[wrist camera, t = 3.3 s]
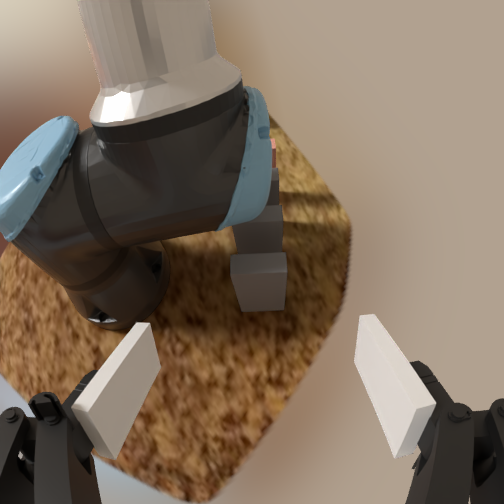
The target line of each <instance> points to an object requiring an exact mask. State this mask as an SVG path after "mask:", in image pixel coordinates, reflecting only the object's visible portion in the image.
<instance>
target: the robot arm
mask: <svg viewBox="0 0 504 504" xmlns="http://www.w3.org/2000/svg"><path fill="white" fill-rule="evenodd" d="M77 2H78V6H79V10H80V14H81V18H82V23H83V26H84V30H85V34H86V38H87V41H88V45H89V49H90V52H91V56H92V59H93V62H94V65H95V69H96V72H97V75H98V78H99V81H100V85H101V90H100V93H99V95H98V97H97V99H96V101H95V103H94V105H93V107H92V110H91V112H90V120H91V123H92V125H93V127H91V128H88V129H85V130H82V131H81V130H79V125H78V123H77V122H76V121H74V120H73V119H72V118H71V117H70V116H59V117H56V118H54V119H52V120H50V121H48V122H46V123H45V124H43V125H42V126H40V127H39V128H38V129H37V130H35V131H34V132H33V133H31V134H30V135H29V136H28V137H27V138H26V139H25V140H24V141H23V142H22V143H21V144H20V145H19V146H18V147H17V148H16V149H15V151H14V152H13V153H12V155H11V156H10V157H9V158H8V159H7V161H6V162H5V164H4V165H3V167H2V168H1V170H0V232H1V233H2V234H3V235H4V237H5V239H6V240H7V241H8V242H11V243H12V244H13V245H15V246H16V247H17V248H18V249H19V250H20V251H21V252H22V253H24V254H25V255H26V256H27V257H28V258H29V259H31V260H32V261H33V262H34V263H35V264H36V265H38V266H39V267H40V268H41V269H42V270H44V271H45V272H46V273H47V274H48V275H50V276H51V277H52V278H53V279H55V280H56V281H57V282H59V283H60V284H61V285H62V286H63V287H64V289H65V290H66V292H67V294H68V296H69V297H70V299H71V301H72V303H73V304H74V306H75V308H76V309H77V311H78V312H79V313H80V314H81V315H82V316H83V317H84V318H85V319H87V320H88V321H90V322H91V323H93V324H95V325H96V326H98V327H101V328H104V329H108V330H120V329H125V328H129V327H131V326H133V328H132V329H131V330H130V331H129V333H128V334H127V335H126V336H125V338H124V339H123V340H122V341H121V343H120V344H119V345H118V346H117V348H116V349H115V350H114V351H113V353H112V354H111V355H110V357H109V358H108V359H107V360H106V362H105V363H104V364H103V366H102V367H101V368H100V369H99V370H93V371H91V372H90V373H88V374H87V375H85V376H84V378H83V379H82V380H81V381H80V384H78V385H77V386H76V388H75V390H73V391H72V393H71V394H70V395H69V397H68V398H67V399H66V400H65V402H64V403H63V404H62V405H61V403H60V401H59V399H58V397H57V396H56V395H55V394H54V393H51V392H42V393H39V394H37V395H35V396H33V397H32V399H31V400H30V401H29V403H28V405H29V407H30V409H31V410H32V412H33V414H34V415H35V417H36V418H34V417H27V416H26V415H25V413H24V412H23V410H22V409H21V408H18V407H11V408H8V409H6V410H5V411H4V412H3V413H2V414H1V415H0V504H102V503H101V498H100V493H99V488H98V483H97V477H96V471H95V465H94V459H93V456H92V455H91V451H92V449H93V447H94V448H95V450H96V451H97V453H98V454H99V456H103V457H107V458H110V459H114V460H116V458H117V456H118V454H119V452H120V450H121V447H122V445H123V443H124V441H125V439H126V437H127V435H128V433H129V431H130V429H131V427H132V424H133V422H134V420H135V418H136V416H137V414H138V412H139V410H140V408H141V406H142V404H143V402H144V400H145V398H146V396H147V394H148V392H149V390H150V388H151V386H152V384H153V382H154V380H155V378H156V376H157V374H158V372H159V370H160V368H161V366H160V362H159V358H158V354H157V350H156V346H155V342H154V338H153V334H152V329H151V325H150V323H139V322H141V321H142V320H144V319H145V318H146V317H148V316H149V315H150V314H151V313H152V312H153V311H154V310H155V308H156V307H157V306H158V304H159V303H160V301H161V300H162V298H163V296H164V294H165V292H166V289H167V286H168V283H169V277H170V263H169V259H168V255H167V253H166V251H165V249H164V247H163V246H162V244H161V242H160V241H161V240H166V239H171V238H176V237H182V236H187V235H192V234H198V233H203V232H209V231H218V230H222V229H224V228H225V227H228V226H232V225H236V224H240V223H244V222H248V221H251V220H253V219H255V218H256V217H257V216H259V215H260V214H261V212H262V211H263V209H264V208H265V206H266V203H267V200H268V197H269V192H270V186H271V177H272V142H271V140H270V137H269V133H270V122H269V115H268V110H267V106H266V103H265V100H264V97H263V95H262V94H261V92H260V91H259V90H258V89H256V88H251V87H249V86H243V83H242V75H241V70H240V69H239V68H237V67H236V66H234V65H233V64H231V63H230V62H228V61H227V60H225V59H224V58H222V57H221V56H220V55H219V54H218V53H217V51H216V44H215V38H214V32H213V25H212V19H211V12H210V6H209V0H77ZM354 362H355V365H356V367H357V369H358V371H359V374H360V376H361V378H362V380H363V383H364V385H365V388H366V390H367V392H368V395H369V397H370V399H371V401H372V404H373V406H374V409H375V411H376V414H377V416H378V419H379V421H380V423H381V426H382V428H383V431H384V433H385V435H386V438H387V441H388V443H389V446H390V448H391V451H392V454H393V456H394V458H399V457H403V456H406V455H410V454H413V452H414V450H415V448H416V446H417V444H418V446H419V448H420V450H421V453H420V455H419V457H418V458H417V460H416V462H415V463H414V465H413V467H412V469H415V472H414V476H413V480H412V484H411V487H410V491H409V494H408V497H407V500H406V503H405V504H468V501H469V495H470V502H471V504H504V399H498V400H496V401H494V402H493V403H492V405H491V407H490V409H489V410H484V411H472V410H471V409H470V408H469V407H468V406H466V405H465V404H461V403H454V402H453V400H452V399H451V398H450V396H449V395H448V393H447V392H446V391H445V389H444V388H443V386H442V385H441V384H440V382H438V380H437V378H436V377H435V376H434V375H433V373H432V371H431V370H430V369H429V367H428V366H426V365H425V364H423V363H421V362H420V361H415V362H408V360H407V359H406V357H405V356H404V354H403V353H402V352H401V350H400V349H399V347H398V346H397V345H396V343H395V342H394V340H393V339H392V338H391V336H390V335H389V333H388V332H387V331H386V329H385V328H384V327H383V325H382V324H381V322H380V321H379V320H378V318H377V317H376V316H375V314H368V315H360V318H359V327H358V336H357V344H356V351H355V359H354ZM19 452H21V453H22V454H23V457H22V459H20V458H19V457H18V454H19ZM415 467H416V468H415Z"/></svg>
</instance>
